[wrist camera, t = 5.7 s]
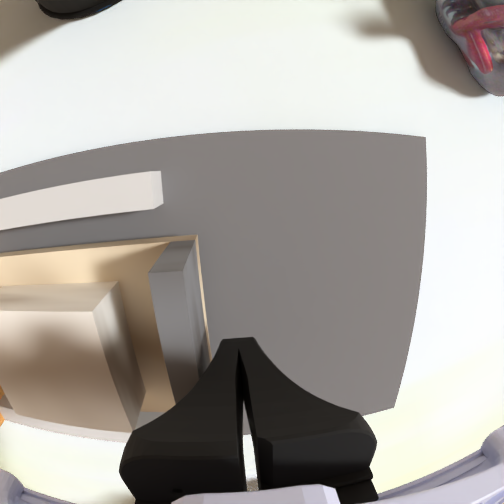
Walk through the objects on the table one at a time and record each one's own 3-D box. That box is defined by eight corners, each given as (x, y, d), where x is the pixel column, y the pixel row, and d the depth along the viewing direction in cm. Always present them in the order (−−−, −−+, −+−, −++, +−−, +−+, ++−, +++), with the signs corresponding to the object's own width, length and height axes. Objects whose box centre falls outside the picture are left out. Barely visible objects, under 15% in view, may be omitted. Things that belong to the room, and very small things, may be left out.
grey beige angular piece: (218, 385, 17) (218, 467, 11) (43, 379, 16) (4, 437, 10) (199, 229, 14) (182, 270, 8) (2, 248, 13) (-66, 283, 8)
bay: (392, 404, 19) (414, 438, 15) (7, 411, 17) (-12, 439, 13) (422, 137, 14) (467, 134, 10) (-62, 196, 12) (-98, 204, 8)
